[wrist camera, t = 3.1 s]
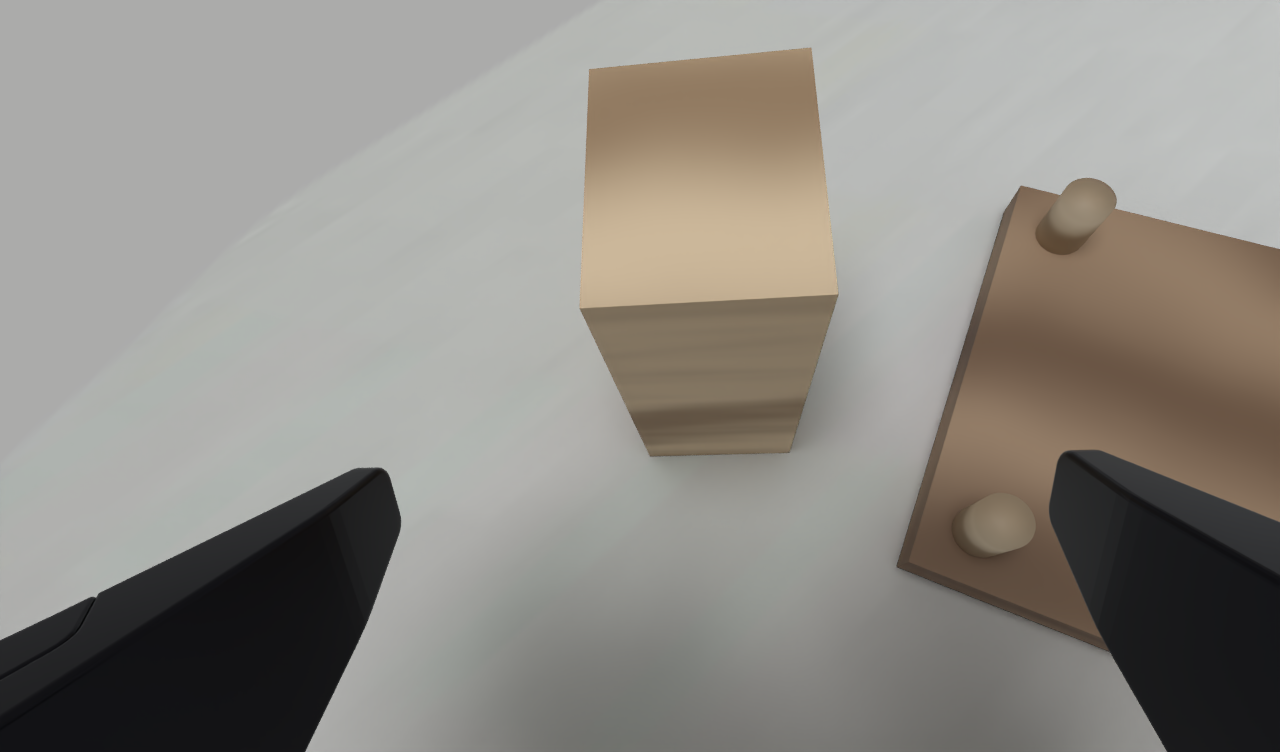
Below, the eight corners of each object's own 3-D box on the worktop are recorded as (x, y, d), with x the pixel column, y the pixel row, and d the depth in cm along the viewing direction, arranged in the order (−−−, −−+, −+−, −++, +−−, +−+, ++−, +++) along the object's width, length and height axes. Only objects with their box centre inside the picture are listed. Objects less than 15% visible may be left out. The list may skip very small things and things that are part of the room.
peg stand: (1374, 756, 17) (1524, 785, 14) (896, 566, 20) (927, 553, 17) (1415, 317, 21) (1541, 259, 17) (1004, 211, 24) (1046, 145, 20)
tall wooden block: (789, 452, 22) (838, 294, 12) (650, 456, 22) (579, 308, 12) (777, 299, 24) (811, 47, 14) (650, 305, 24) (589, 68, 14)
